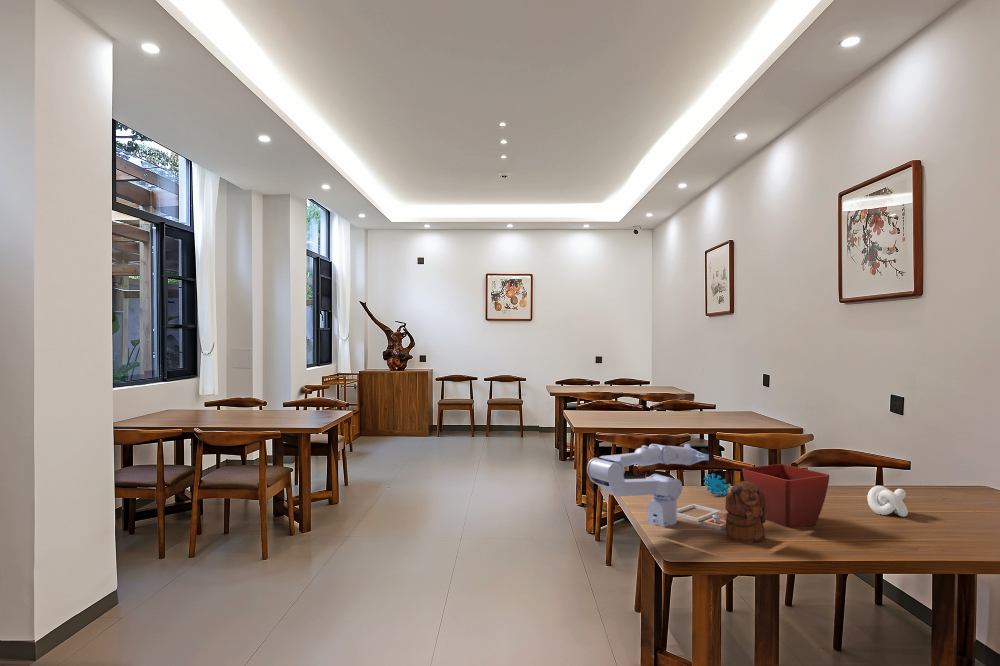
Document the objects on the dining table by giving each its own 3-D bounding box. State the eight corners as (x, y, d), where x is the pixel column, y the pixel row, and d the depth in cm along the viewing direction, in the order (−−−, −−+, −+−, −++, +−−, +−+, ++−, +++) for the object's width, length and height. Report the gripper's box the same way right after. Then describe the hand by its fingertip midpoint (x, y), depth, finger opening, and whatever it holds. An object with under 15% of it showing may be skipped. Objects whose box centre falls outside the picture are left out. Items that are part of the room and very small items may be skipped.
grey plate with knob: (722, 535, 171) (722, 522, 171) (695, 528, 178) (695, 515, 178) (736, 529, 176) (736, 517, 176) (710, 522, 183) (710, 510, 183)
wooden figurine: (739, 549, 160) (739, 486, 160) (723, 541, 166) (723, 481, 166) (771, 544, 164) (770, 482, 164) (754, 537, 170) (753, 478, 170)
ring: (720, 529, 173) (720, 518, 173) (703, 525, 178) (702, 514, 178) (736, 523, 180) (736, 512, 180) (719, 518, 184) (718, 508, 184)
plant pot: (740, 517, 190) (740, 467, 190) (781, 511, 197) (781, 463, 197) (788, 534, 172) (788, 480, 172) (832, 527, 179) (831, 475, 179)
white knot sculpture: (920, 519, 187) (920, 493, 187) (885, 519, 187) (885, 493, 187) (896, 510, 198) (896, 484, 199) (863, 509, 198) (862, 484, 198)
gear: (708, 493, 214) (702, 470, 221) (702, 501, 218) (696, 478, 225) (735, 496, 215) (728, 474, 222) (728, 504, 219) (722, 482, 226)
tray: (697, 524, 181) (697, 518, 181) (670, 517, 189) (670, 511, 189) (720, 516, 190) (720, 510, 190) (693, 509, 198) (693, 503, 198)
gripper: (696, 443, 181) (721, 446, 188) (661, 442, 192) (685, 444, 200) (696, 466, 179) (722, 467, 187) (660, 463, 191) (685, 464, 198)
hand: (703, 457), depth 193 cm, fingers open, 7 cm apart
